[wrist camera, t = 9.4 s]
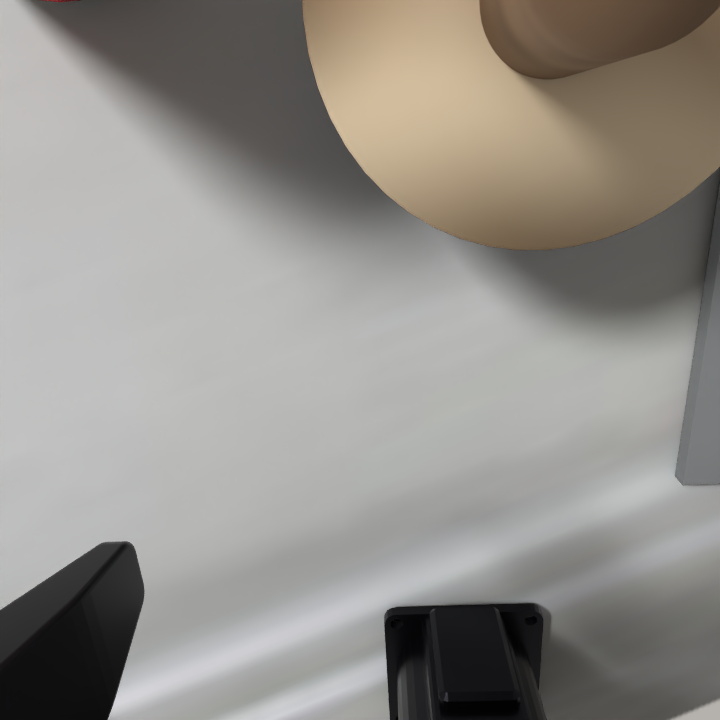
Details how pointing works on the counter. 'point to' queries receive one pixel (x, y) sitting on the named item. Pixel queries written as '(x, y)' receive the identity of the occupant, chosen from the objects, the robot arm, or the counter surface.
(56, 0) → the soda can
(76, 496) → the counter surface
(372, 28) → the lid
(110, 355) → the counter surface
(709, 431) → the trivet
